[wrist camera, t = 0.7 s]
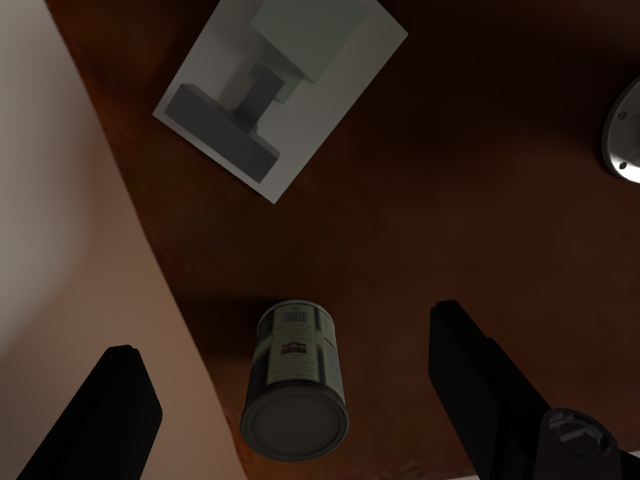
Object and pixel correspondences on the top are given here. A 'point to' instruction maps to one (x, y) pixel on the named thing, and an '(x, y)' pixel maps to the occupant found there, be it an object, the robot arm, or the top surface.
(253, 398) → the coffee can
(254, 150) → the t key
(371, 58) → the plate
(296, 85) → the grey stepped block
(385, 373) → the top surface
